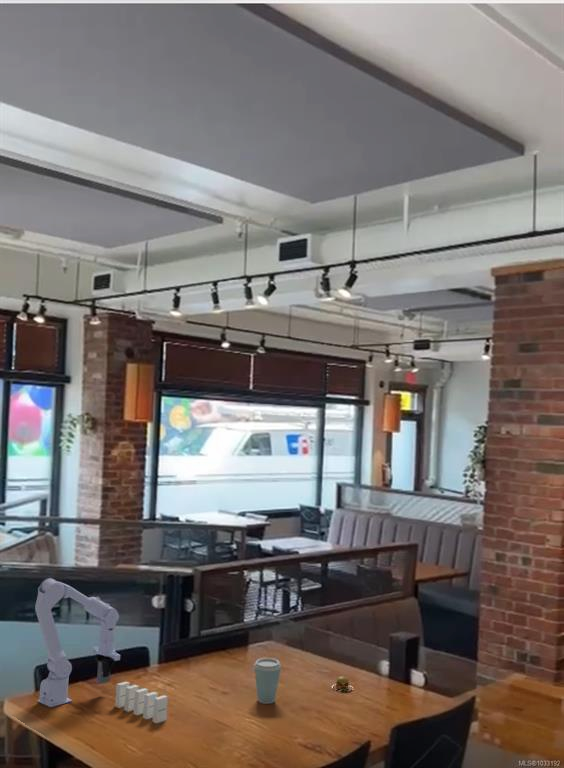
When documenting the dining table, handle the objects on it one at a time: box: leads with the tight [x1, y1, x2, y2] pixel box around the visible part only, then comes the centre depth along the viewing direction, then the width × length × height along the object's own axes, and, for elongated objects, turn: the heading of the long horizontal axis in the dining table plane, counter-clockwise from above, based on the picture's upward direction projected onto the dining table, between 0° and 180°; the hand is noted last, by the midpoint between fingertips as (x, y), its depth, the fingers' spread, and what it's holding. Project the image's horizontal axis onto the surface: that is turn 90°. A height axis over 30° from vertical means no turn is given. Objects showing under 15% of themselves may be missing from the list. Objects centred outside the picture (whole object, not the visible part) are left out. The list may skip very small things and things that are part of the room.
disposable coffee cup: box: [253, 657, 282, 705], centre depth 292 cm, size 11×11×15 cm
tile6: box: [152, 694, 169, 724], centre depth 265 cm, size 4×2×8 cm, turn 142°
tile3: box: [123, 684, 140, 712], centre depth 275 cm, size 4×2×8 cm, turn 142°
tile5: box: [142, 691, 159, 720], centre depth 269 cm, size 4×2×8 cm, turn 142°
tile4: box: [133, 687, 149, 716], centre depth 272 cm, size 4×2×8 cm, turn 142°
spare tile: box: [96, 660, 111, 685], centre depth 289 cm, size 4×2×8 cm, turn 142°
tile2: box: [114, 681, 131, 709], centre depth 278 cm, size 4×2×8 cm, turn 142°
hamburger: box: [331, 675, 354, 692], centre depth 312 cm, size 12×12×6 cm
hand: (103, 675), depth 289 cm, fingers closed on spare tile, 2 cm apart
